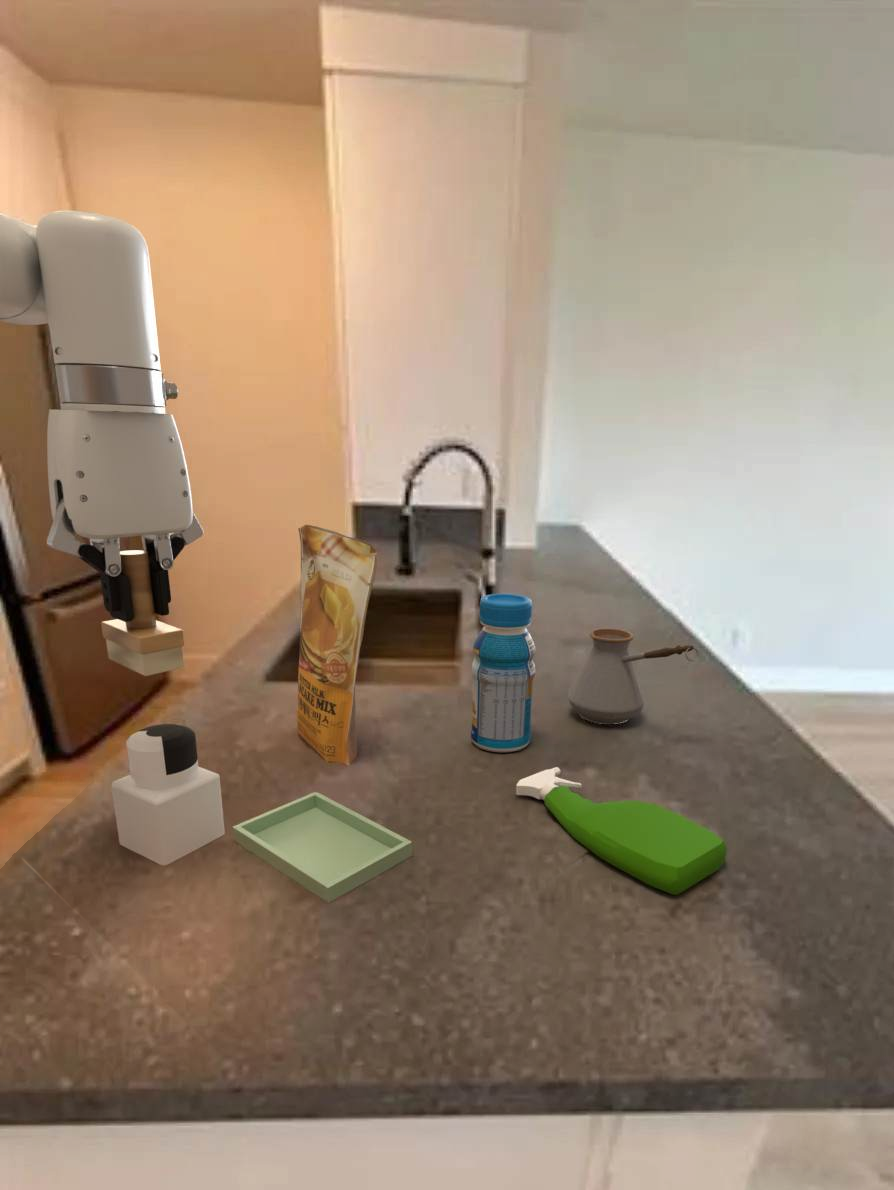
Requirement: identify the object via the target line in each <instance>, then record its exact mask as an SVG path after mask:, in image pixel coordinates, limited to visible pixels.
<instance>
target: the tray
mask: <svg viewBox="0 0 894 1190" xmlns="http://www.w3.org/2000/svg"><path fill="white" fill-rule="evenodd" d="M232 837H233V841H234V842H235V843H237V844H238V845H240V846H241V847H243V848H244V849H246V850H247V851H248V852H250V853H252V854H254V855H255V856H256V857H258V858H259V859H261V860H263V861H264V862H266V863H267V864H269V866H272V867H273V868H275V869H276V870H278V871H279V872H281V873H282V874H283V875H285V876H287V877H288V878H290V879H291V880H293V881H294V882H295V883H298V884H299V885H301V886H302V887H303V888H305V889H306V890H307V891H309V892H311V893H313V894H314V895H316V896H317V897H319V898H320V899H321V900H323V901H325V902H326V903H328V904H330V903H332V902H333V901H335V900H336V899H339V898H340V897H341V896H344V895H345V894H348V893H349V892H351V891H352V890H354V889H357V888H358V887H360V886H361V885H363V884H364V883H366V882H368V881H370V880H372V879H374V878H375V877H377V876H379V875H380V874H382V873H384V872H386V871H388V870H390V869H391V868H393V867H395V866H396V865H398V864H400V863H402V862H404V861H405V860H408V859H409V858H410V857H412V856H413V842H412V841H411V840H410V839H407V838H406V837H404V836H402V835H400V834H398V833H396V832H394V831H392V830H390V829H388V828H387V827H385V826H383V825H381V824H379V823H377V822H375V821H373V820H371V819H369V818H368V817H365V816H364V815H362V814H359V813H358V812H356V811H354V810H352V809H350V808H348V807H347V806H344V805H343V804H340V803H339V802H337V801H335V800H333V799H331V798H329V797H327V796H326V795H324V794H321V793H319V792H318V791H314V792H312V793H309V794H307V795H305V796H302V797H300V798H297V799H295V800H292V801H290V802H288V803H285V804H283V805H281V806H279V807H276V808H273V809H271V810H269V811H266V812H264V813H262V814H259V815H257V816H254V817H252V818H250V819H248V820H245V821H243V822H240V823H238V824H236V825H233V826H232Z"/></svg>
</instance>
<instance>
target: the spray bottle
mask: <svg viewBox="0 0 894 1190" xmlns="http://www.w3.org/2000/svg"><path fill="white" fill-rule="evenodd" d="M559 775H561V769H560V768H559V767H557V766H555V767H552V768H548V769H544V770H541V771H539V772H536V773H534V774H531V775H529V776H526V777H524V778H521V779H519V780H518V782H517V783H516V785H515V795H516V796H528V797H532V798H535V799H537V800H543V801H544V805H545V806H546V807H547V809H548V810H549V811H550V813H551V814H552V815H553V816H554V817H555V818H556V819H557V821H558V822H559V824H560V825H562V827H563V828H564V829H565V830H566V831H567V832H568V833H569V834H570V835H571V837H573V838H574V839H575V840H577V841H578V842H579V843H580V844H581V845H583V846H584V847H585V848H587V849H588V850H589V851H590V852H591V853H593V855H595V856H596V857H598V858H600V859H601V860H603V861H605V862H607V863H608V864H610V865H612V866H613V867H615V868H617V869H618V870H621V871H622V872H625V873H626V874H628V875H629V876H631V877H634V878H635V879H637V880H639V881H641V882H642V883H644V884H646V885H648V886H650V887H652V888H655V889H657V890H660V891H661V892H664V893H667V894H670V895H671V896H672V895H673V896H678V895H680V894H681V893H683V892H684V891H686V890H688V889H689V888H691V887H692V886H694V885H696V884H697V883H699V882H700V881H702V880H704V879H706V878H707V877H709V876H710V875H712V874H714V873H716V872H717V871H718V870H719V869H720V868H721V867H722V866H723V864H724V863H725V862H726V858H727V852H728V851H727V850H728V847H727V844H726V842H725V840H724V839H722V838H721V837H720V836H718V835H717V834H716V833H714V832H713V831H712V830H710V829H708V828H706V827H704V826H703V825H701V824H698V823H697V822H694V821H692V820H690V819H689V818H687V817H685V816H683V815H681V814H678V813H676V812H674V811H672V810H669V809H667V808H665V807H662V806H661V805H659V804H656V803H651V802H646V801H641V800H612V801H606V802H600V803H596V802H593V801H591V800H590V799H589V798H583V797H582V796H581V795H580V794H579V793H577V792H572V791H571V789H570V788H582V783H581V782H575V781H571V780H568V779H564V778H562V777H558V776H559Z"/></svg>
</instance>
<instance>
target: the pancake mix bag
mask: <svg viewBox="0 0 894 1190" xmlns="http://www.w3.org/2000/svg"><path fill="white" fill-rule="evenodd" d="M297 530H298V534H299V541H300V542H299V543H300V594H299V595H300V615H299V649H298V650H299V655H298V676H297V705H296V724H297V725H296V727H297V732H298V734H299V737H300V738H301V739H302V740H303V741H304V742H305V743H306V744H307V745H308V746H309V747H310V748H311V749H314V751H316V752H317V754H318V755H319V756H320V757H321V759H323V760H324V761H326V762H327V763H342V764H344V765H346V767H347V766H348V767H349V766H350V765H351V764H352V762H353V761H354V760H355V759H356V758H357V753H358V743H357V742H358V741H357V738H356V737H357V725H356V679H357V672H358V666H359V665H358V664H359V658H360V651H361V647H362V641H363V637H364V631H365V623H366V617H367V612H368V607H369V601H370V597H371V593H372V589H373V585H374V582H375V579H376V572H377V568H378V552H377V550H376V549H375V548H374V546H372V544H370V543H368V542H367V541H366V540H363V539H358V538H355V537H351V536H347V535H345V534H342V533H340V532H337V531H335V530H331V529H327V528H323V527H320V526H316V525H312V524H311V525H309V524H304V525H303V526H301V527H298V528H297Z"/></svg>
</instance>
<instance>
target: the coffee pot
mask: <svg viewBox="0 0 894 1190" xmlns="http://www.w3.org/2000/svg"><path fill="white" fill-rule="evenodd" d="M589 637H590V638H591V639H592V647H591V649H590V651H589V653H588V655H587V657H586V659H585V660H584V663H583V664H582V667H581V668H580V670H579V672H578V674H577V676H576V678H575V680H574V682H573V683H572V685H571V687H570V689H569V691H568V693H567V699H568V702H569V704H570V706H571V707H572V709H574V711H575V713H577V714H579V717H580V718H581V719H583V720H584V719H585V720H584V721H586V720H588V721H587V722H589V721H591V722H590V723H592V722H595V723H594V724H596V723H602V724H614V723H620V722H623V721H625V720H628V719H630V720H631V719H633V718H635V717H636V716H637V715H638V714H640V713H641V711H642V710H643V708H644V707H645V703H646V700H645V697H644V696H645V695H644V694H643V690H642V687H641V684H640V681H639V677H638V675H637V672H636V670H635V669H636V668H635V666H634V663H633V662H635V661H639V660H644V659H658V658H668V657H670V656H673V655H682V654H683V653H684V655H685V658H686V660H688V661H689V662H695V661H697V660H698V658H699V651H698V649H697V648H696V647H694V646H693V645H689V644H688V645H687V644H686V645H683V646H682V645H676V646H675V647H662V648H658V649H657V648H656V649H654V650H650V651H646V652H643V653H636V654H630V651H629V647H630V644H631V641H634V638H635V636H634V634H633V633H632V632H629V631H628V630H624V629H619V628H596V629H593V630H591V631H589ZM693 650H695V652H696V657H695V659H690V658H689V657H688V655H687V654H688V652H691V651H693Z"/></svg>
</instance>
